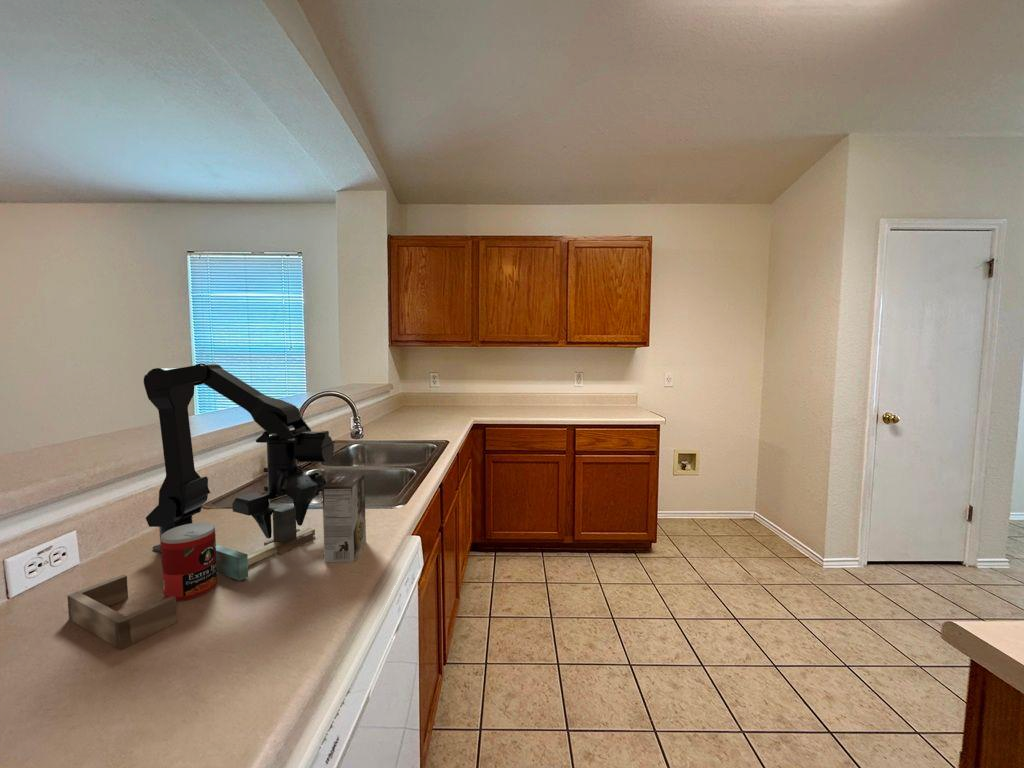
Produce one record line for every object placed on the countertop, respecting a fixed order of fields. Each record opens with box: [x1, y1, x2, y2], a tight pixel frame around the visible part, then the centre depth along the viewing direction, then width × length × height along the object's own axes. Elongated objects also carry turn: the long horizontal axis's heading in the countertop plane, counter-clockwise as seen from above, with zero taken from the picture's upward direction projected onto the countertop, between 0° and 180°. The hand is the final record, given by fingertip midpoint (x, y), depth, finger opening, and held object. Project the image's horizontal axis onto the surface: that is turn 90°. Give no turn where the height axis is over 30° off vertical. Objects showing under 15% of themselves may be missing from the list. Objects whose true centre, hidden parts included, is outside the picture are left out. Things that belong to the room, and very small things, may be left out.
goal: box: [66, 574, 178, 651], centre depth 65 cm, size 16×7×4 cm, turn 65°
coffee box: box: [321, 473, 367, 563], centre depth 88 cm, size 9×6×16 cm
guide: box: [263, 528, 314, 556], centre depth 92 cm, size 5×8×2 cm
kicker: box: [216, 504, 316, 582], centre depth 88 cm, size 11×20×8 cm, turn 155°
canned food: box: [160, 522, 218, 602], centre depth 74 cm, size 8×8×11 cm
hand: (284, 531), depth 91 cm, fingers open, 7 cm apart
